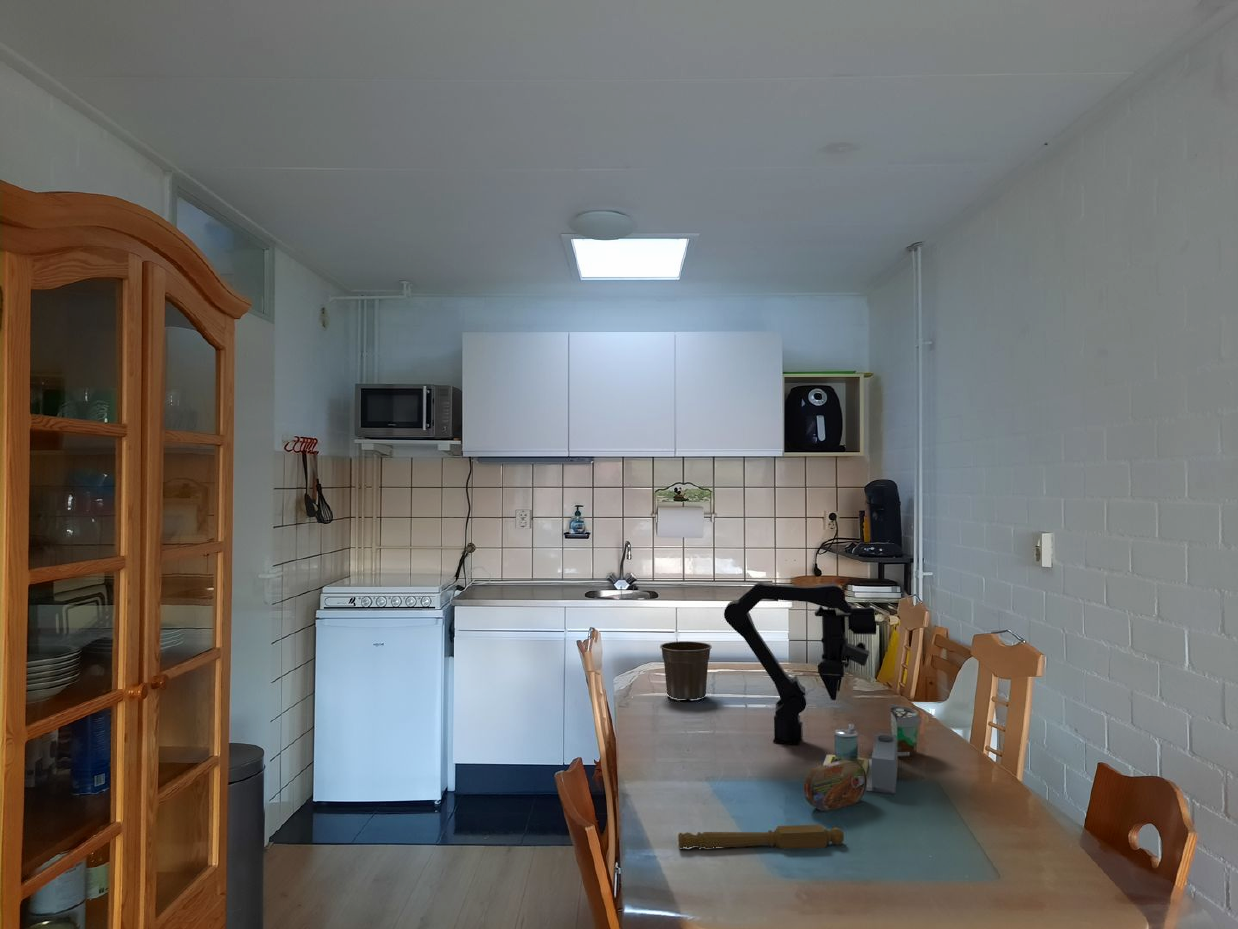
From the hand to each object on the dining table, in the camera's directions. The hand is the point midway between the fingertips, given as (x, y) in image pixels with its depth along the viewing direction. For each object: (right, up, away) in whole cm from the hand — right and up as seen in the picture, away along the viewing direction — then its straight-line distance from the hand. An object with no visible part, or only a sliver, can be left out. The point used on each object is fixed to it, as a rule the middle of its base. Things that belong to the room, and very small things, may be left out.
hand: (835, 695), depth 196 cm
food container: (+15, -12, -9) cm, 21 cm away
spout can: (-4, -10, -22) cm, 24 cm away
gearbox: (-1, -11, -23) cm, 25 cm away
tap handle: (-29, -11, -57) cm, 65 cm away
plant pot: (-34, -15, +46) cm, 59 cm away
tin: (-11, -11, -39) cm, 42 cm away
